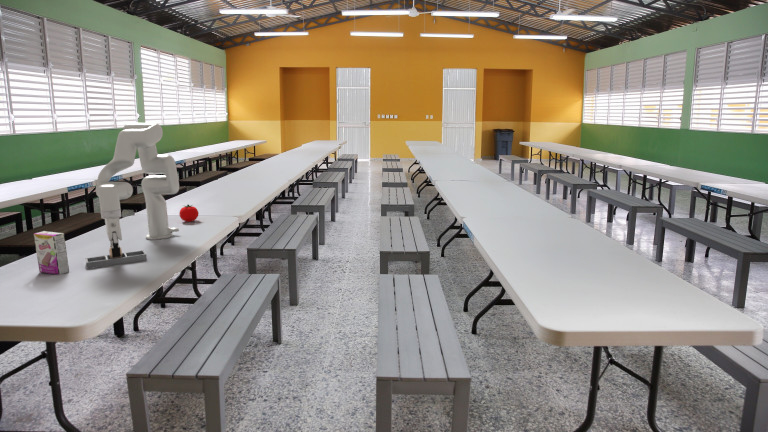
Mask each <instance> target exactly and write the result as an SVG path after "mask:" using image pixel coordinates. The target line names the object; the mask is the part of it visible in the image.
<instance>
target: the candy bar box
mask: <svg viewBox="0 0 768 432" xmlns="http://www.w3.org/2000/svg"><path fill="white" fill-rule="evenodd" d="M33 240H34V246H35V251H36V252H35V253H36V257H37V263H38V271H39V273H43V274H51V275H58V276H60V275H63V274H67V273H69V272H70V268H69V267H70V266H69V261H68V251H67V245H66V239H65V233H64V232H55V231H54V232H53V231H46V230H43V231H39V232H35V233H33Z"/></svg>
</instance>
